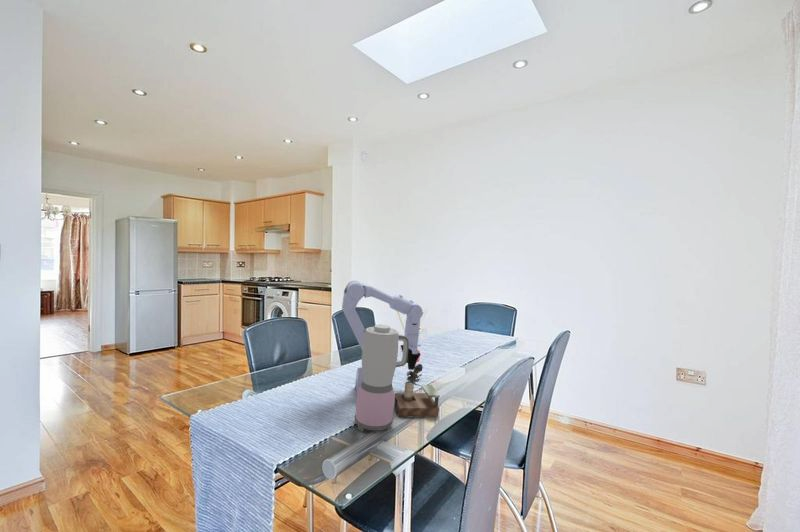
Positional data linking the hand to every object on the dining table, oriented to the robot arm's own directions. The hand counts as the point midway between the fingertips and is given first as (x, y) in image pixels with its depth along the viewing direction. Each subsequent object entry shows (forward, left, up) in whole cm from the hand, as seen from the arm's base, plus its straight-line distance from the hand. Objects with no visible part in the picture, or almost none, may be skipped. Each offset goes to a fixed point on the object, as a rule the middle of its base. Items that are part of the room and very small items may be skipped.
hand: (408, 366), depth 143 cm
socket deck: (-1, -16, -10) cm, 19 cm away
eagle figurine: (+6, +11, -10) cm, 16 cm away
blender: (-16, -26, -10) cm, 32 cm away
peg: (-3, -14, -10) cm, 17 cm away
